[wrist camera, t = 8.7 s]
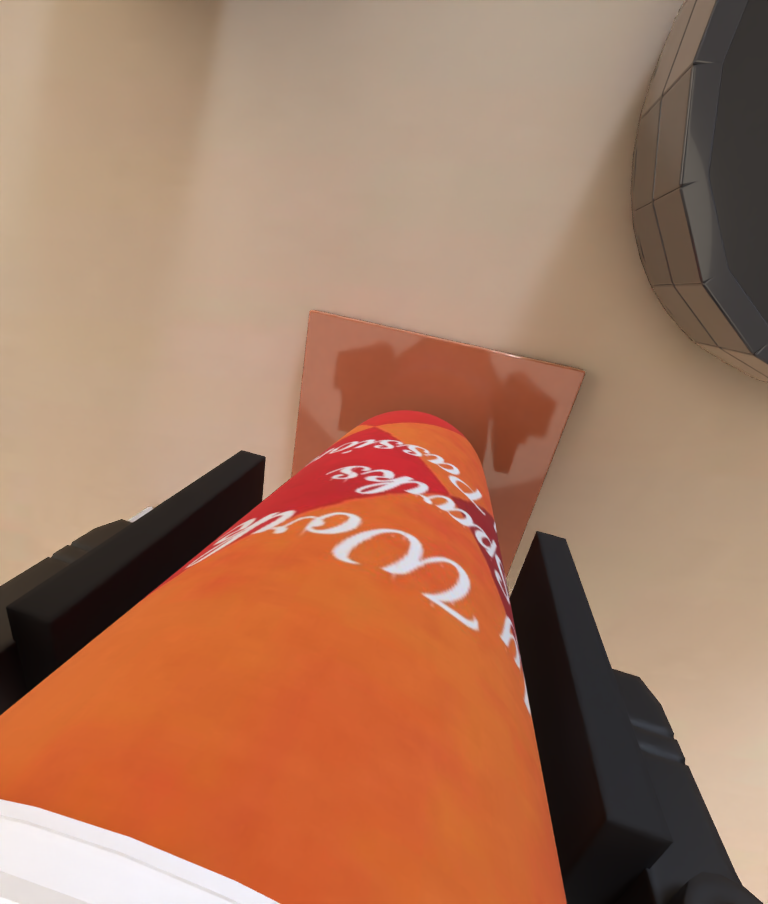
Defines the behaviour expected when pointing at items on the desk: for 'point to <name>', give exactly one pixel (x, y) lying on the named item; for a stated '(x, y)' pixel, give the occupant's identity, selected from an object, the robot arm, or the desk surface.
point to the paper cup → (298, 709)
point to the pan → (709, 179)
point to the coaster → (439, 403)
